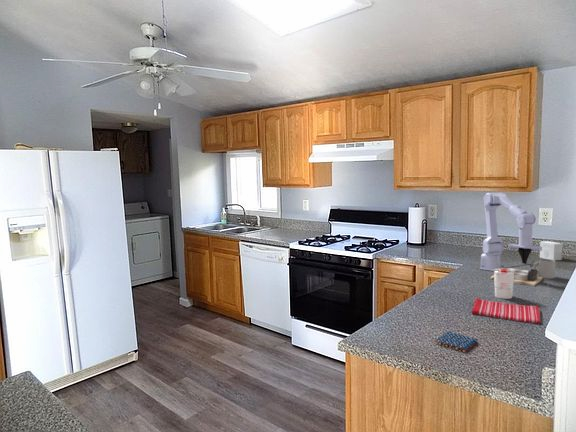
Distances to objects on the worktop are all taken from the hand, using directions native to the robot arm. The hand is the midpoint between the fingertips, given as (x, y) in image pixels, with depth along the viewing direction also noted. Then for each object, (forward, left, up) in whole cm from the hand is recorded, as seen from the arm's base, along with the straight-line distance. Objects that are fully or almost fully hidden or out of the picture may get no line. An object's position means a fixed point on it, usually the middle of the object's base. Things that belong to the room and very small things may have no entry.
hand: (524, 263), depth 200 cm
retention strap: (-4, 0, -4) cm, 5 cm away
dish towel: (+7, -55, -10) cm, 56 cm away
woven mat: (+4, -96, -10) cm, 97 cm away
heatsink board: (-4, 0, -9) cm, 10 cm away
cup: (+6, +14, -9) cm, 18 cm away
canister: (0, -34, -9) cm, 35 cm away
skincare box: (-2, +64, -9) cm, 65 cm away
